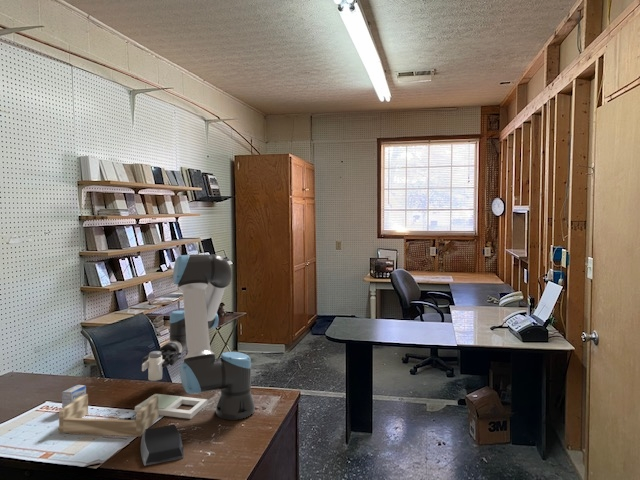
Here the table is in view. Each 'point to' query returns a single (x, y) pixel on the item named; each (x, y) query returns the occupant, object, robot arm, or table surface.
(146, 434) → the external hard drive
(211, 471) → the table surface
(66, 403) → the medicine box
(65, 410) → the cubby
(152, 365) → the cream bottle
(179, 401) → the hole board
